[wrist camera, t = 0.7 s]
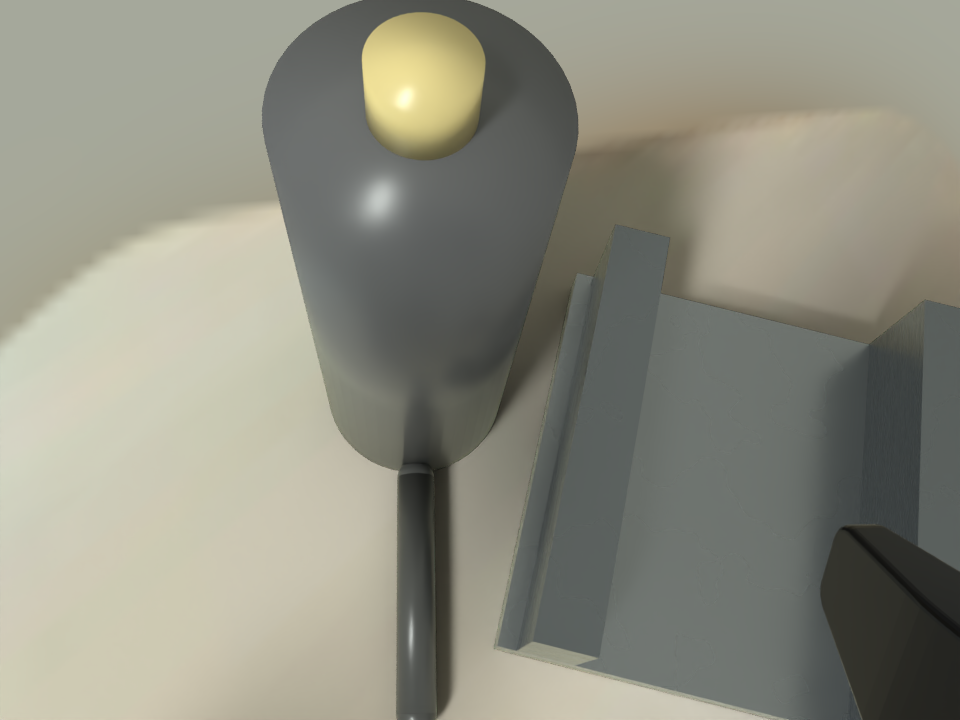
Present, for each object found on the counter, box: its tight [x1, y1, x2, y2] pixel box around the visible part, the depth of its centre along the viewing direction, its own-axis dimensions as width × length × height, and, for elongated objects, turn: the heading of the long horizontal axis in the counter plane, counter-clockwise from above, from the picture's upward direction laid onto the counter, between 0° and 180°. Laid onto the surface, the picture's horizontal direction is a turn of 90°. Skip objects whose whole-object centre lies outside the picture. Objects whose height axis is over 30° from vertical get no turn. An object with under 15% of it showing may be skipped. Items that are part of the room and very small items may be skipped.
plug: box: [262, 0, 578, 720], centre depth 18 cm, size 12×5×14 cm, turn 2°
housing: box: [494, 225, 960, 720], centre depth 23 cm, size 11×11×4 cm
